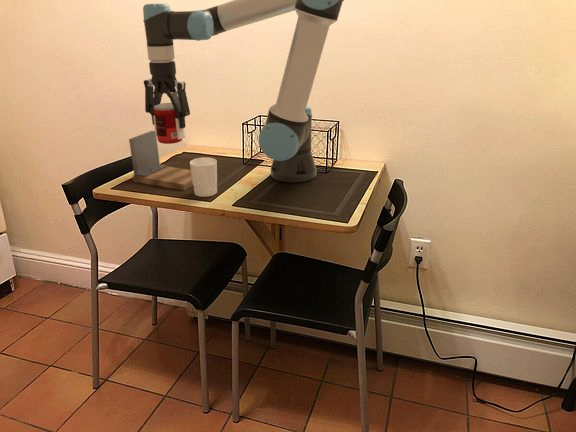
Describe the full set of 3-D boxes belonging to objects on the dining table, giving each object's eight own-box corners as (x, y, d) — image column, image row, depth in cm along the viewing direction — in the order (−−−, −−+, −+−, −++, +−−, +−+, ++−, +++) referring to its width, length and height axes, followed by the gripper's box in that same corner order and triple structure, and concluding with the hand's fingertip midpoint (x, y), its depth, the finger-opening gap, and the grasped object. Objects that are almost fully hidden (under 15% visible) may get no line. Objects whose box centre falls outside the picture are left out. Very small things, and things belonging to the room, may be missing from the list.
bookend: (167, 166, 167) (163, 132, 162) (145, 177, 158) (140, 140, 153) (156, 165, 169) (151, 130, 164) (134, 175, 160) (129, 139, 155)
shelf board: (206, 178, 162) (205, 172, 162) (184, 190, 153) (184, 184, 152) (157, 170, 170) (156, 164, 169) (133, 181, 160) (132, 175, 160)
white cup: (198, 199, 146) (195, 167, 142) (188, 191, 152) (185, 160, 148) (223, 194, 150) (221, 162, 145) (212, 186, 156) (210, 155, 152)
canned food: (186, 137, 158) (182, 102, 154) (178, 144, 151) (175, 108, 147) (162, 136, 159) (158, 102, 155) (154, 143, 152) (149, 108, 147)
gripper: (198, 60, 144) (204, 137, 154) (142, 57, 152) (151, 130, 162) (183, 64, 138) (190, 143, 148) (125, 60, 146) (136, 136, 155)
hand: (170, 136), depth 155 cm, fingers closed on canned food, 8 cm apart
